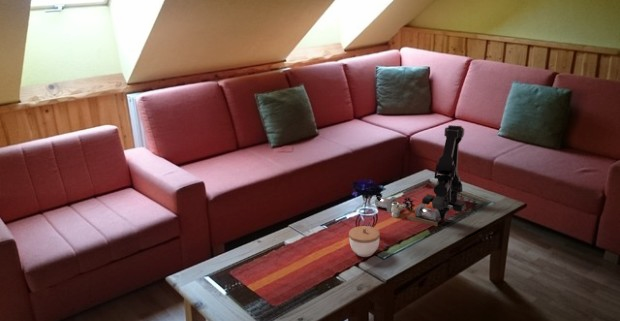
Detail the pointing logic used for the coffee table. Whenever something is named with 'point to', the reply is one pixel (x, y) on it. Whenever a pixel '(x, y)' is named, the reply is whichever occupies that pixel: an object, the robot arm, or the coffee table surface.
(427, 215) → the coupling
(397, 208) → the valve
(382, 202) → the pipe stub
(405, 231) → the coffee table surface
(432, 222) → the cradle rails
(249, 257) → the coffee table surface
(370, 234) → the lidded bowl
